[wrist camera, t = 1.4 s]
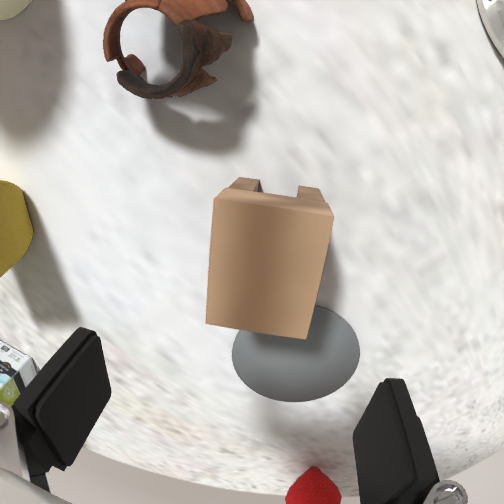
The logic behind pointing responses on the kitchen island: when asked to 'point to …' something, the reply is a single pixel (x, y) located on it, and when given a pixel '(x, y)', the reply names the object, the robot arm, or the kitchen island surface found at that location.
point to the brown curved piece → (193, 37)
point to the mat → (298, 359)
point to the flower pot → (13, 226)
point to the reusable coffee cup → (12, 8)
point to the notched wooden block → (266, 259)
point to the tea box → (14, 373)
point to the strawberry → (313, 489)
